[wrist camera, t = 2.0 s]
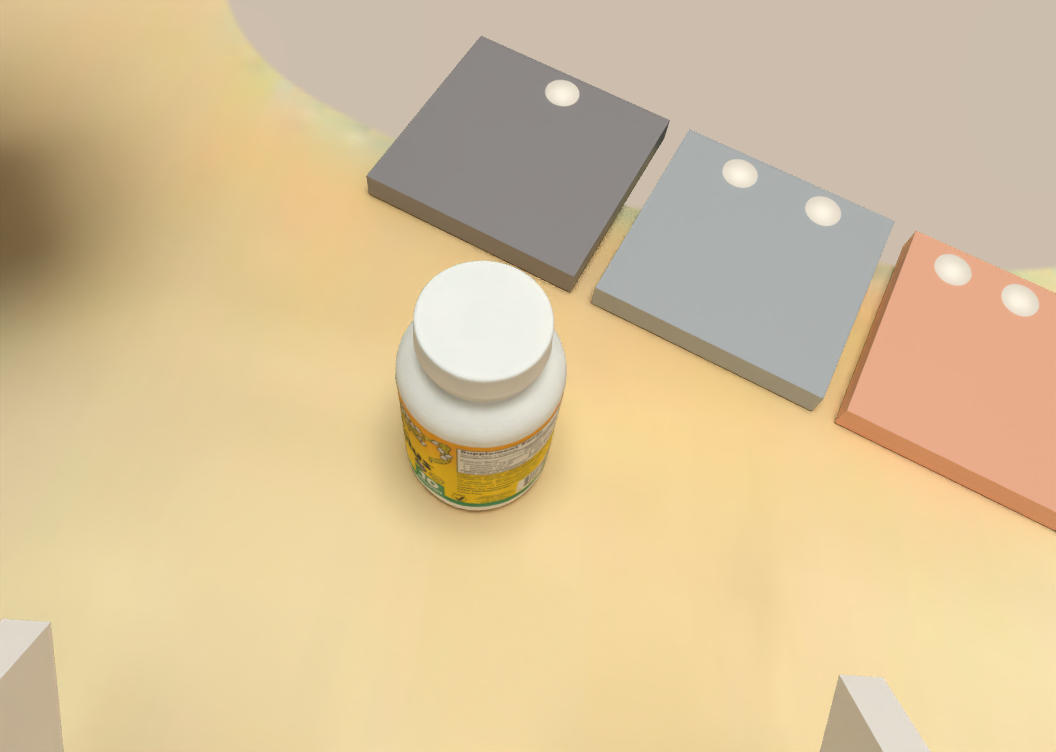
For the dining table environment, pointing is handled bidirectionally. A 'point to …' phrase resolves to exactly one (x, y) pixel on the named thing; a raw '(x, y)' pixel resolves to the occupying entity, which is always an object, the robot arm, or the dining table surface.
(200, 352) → the dining table surface
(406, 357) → the supplement bottle
